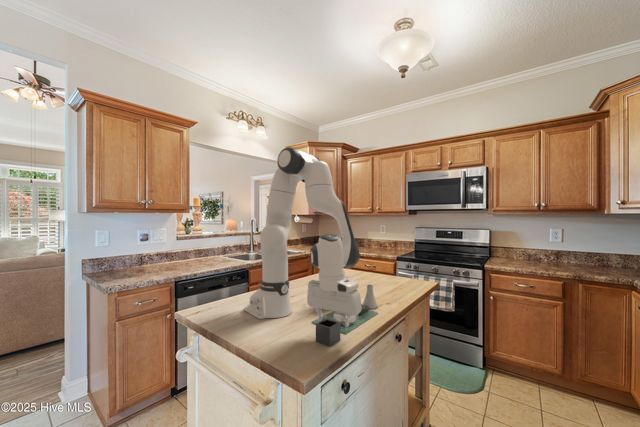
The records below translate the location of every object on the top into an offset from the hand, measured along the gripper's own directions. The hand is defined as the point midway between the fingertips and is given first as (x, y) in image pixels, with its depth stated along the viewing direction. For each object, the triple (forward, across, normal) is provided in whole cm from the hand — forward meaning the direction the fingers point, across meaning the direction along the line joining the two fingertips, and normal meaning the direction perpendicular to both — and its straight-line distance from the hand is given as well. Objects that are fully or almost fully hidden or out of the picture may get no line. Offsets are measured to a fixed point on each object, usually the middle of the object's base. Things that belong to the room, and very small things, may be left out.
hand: (333, 323), depth 93 cm
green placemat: (+6, -6, +19) cm, 21 cm away
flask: (+7, -5, +38) cm, 38 cm away
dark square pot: (+6, -2, -2) cm, 6 cm away
